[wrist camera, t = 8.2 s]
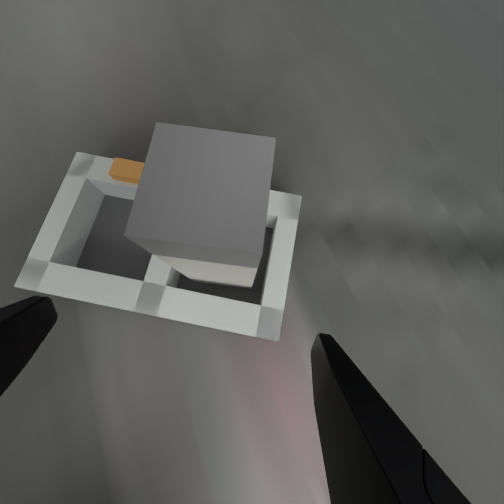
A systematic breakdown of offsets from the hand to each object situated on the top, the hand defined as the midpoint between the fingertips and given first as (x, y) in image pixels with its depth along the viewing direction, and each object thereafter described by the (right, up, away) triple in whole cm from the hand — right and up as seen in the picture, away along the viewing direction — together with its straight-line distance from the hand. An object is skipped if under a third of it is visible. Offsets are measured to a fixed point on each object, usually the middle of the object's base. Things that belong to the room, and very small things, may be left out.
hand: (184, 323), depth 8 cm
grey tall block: (0, +2, +11) cm, 11 cm away
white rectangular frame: (-4, +3, +12) cm, 13 cm away
